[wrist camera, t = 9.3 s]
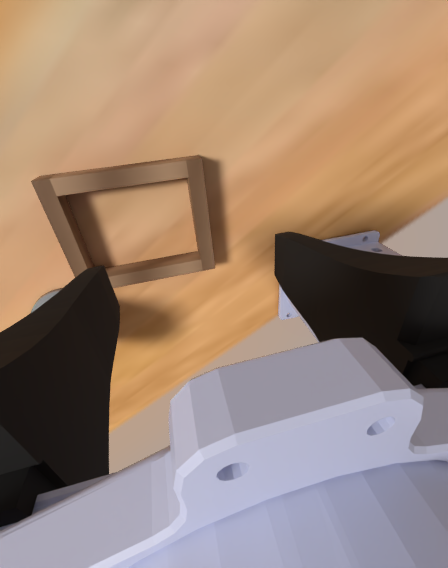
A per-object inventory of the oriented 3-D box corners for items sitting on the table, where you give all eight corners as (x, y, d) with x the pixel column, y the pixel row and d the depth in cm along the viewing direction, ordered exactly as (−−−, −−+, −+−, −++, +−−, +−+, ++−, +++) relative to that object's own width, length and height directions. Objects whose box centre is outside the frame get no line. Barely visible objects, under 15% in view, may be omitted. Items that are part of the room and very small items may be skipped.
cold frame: (198, 155, 18) (202, 158, 17) (211, 259, 23) (215, 268, 22) (39, 176, 17) (30, 181, 16) (86, 283, 21) (82, 294, 20)
